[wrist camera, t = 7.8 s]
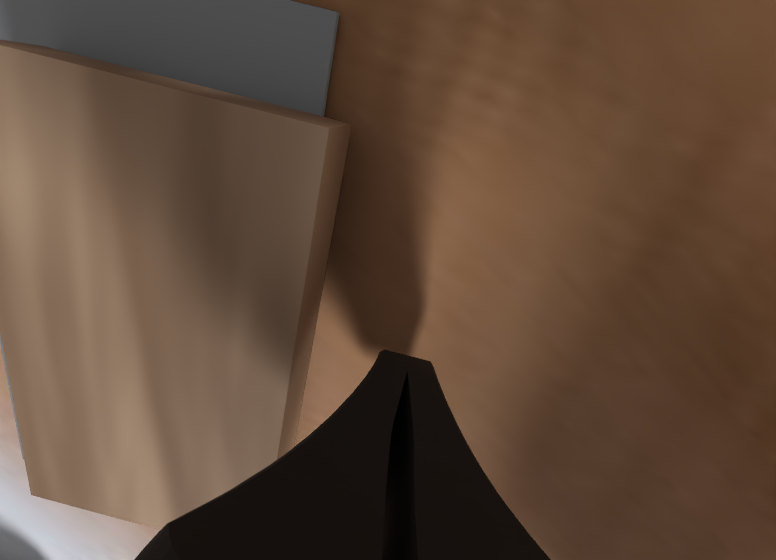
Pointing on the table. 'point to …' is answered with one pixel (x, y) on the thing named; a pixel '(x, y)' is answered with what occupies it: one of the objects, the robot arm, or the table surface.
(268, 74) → the felt mat
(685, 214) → the table surface
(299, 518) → the robot arm
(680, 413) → the table surface
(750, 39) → the table surface
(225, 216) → the wooden block
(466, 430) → the table surface
